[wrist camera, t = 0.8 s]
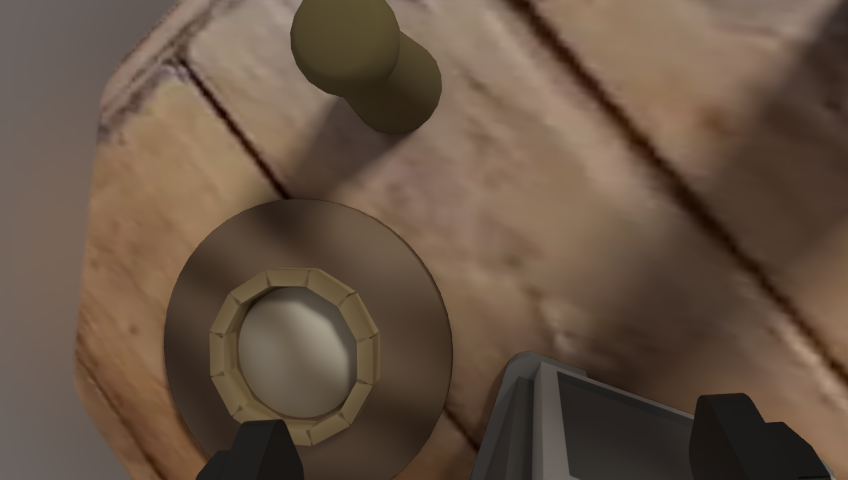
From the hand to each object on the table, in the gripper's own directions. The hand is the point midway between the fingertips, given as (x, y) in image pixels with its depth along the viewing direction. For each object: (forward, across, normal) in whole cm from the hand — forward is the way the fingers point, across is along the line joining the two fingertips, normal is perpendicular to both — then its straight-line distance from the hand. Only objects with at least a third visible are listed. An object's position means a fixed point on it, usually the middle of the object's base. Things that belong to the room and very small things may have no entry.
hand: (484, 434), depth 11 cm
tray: (+20, +12, +15) cm, 28 cm away
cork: (+28, +4, +1) cm, 28 cm away
